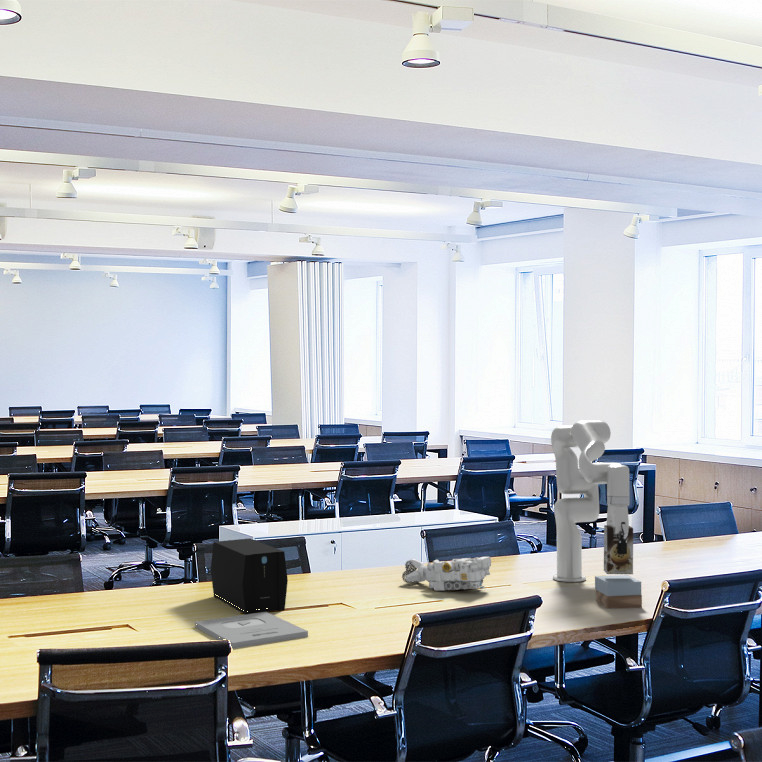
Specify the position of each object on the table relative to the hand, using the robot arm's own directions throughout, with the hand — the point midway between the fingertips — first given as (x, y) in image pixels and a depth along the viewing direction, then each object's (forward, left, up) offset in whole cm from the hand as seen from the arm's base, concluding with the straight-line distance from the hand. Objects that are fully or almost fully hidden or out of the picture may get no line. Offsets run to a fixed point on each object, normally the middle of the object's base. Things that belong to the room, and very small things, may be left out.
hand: (618, 551), depth 340 cm
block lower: (0, 0, -18) cm, 18 cm away
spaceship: (-32, -56, -18) cm, 67 cm away
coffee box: (0, 0, -7) cm, 7 cm away
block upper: (0, 0, -14) cm, 14 cm away
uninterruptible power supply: (-17, -128, -18) cm, 131 cm away
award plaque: (+23, -126, -19) cm, 129 cm away
